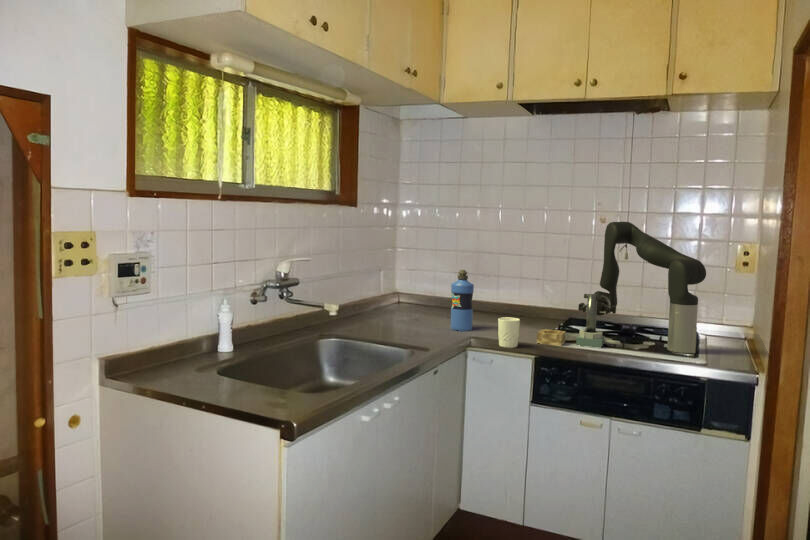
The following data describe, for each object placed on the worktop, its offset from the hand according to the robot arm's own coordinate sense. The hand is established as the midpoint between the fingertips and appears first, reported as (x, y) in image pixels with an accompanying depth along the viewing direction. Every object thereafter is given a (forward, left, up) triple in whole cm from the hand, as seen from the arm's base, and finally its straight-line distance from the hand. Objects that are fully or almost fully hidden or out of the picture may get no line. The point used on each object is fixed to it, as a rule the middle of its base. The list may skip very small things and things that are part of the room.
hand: (595, 310), depth 237 cm
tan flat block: (+14, +14, -11) cm, 23 cm away
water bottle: (+53, +5, -12) cm, 54 cm away
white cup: (+27, +28, -12) cm, 41 cm away
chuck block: (-3, +11, -11) cm, 16 cm away
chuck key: (0, +11, -8) cm, 14 cm away
